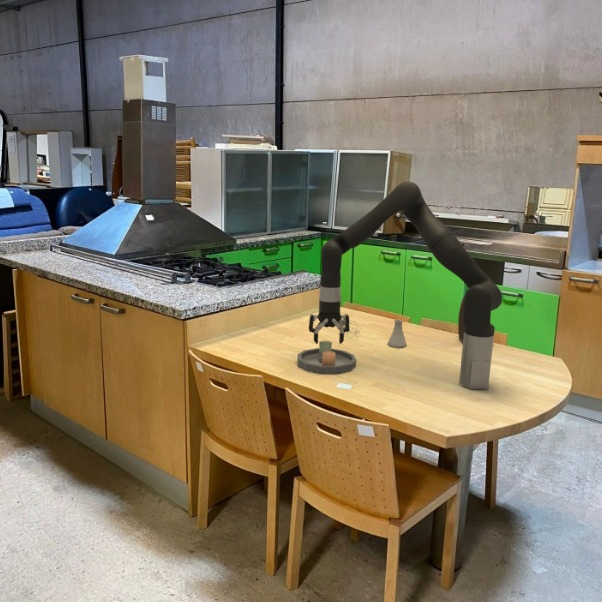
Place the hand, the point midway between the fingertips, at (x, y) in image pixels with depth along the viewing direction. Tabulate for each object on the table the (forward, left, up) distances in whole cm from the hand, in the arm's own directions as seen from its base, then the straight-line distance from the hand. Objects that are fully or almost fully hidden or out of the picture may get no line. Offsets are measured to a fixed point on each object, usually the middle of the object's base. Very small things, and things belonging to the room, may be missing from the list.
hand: (328, 343), depth 216 cm
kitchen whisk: (+40, -10, -6) cm, 42 cm away
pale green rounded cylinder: (0, +1, -5) cm, 5 cm away
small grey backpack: (+21, -60, -6) cm, 64 cm away
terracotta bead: (-11, +1, -5) cm, 12 cm away
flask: (+17, -29, -6) cm, 34 cm away
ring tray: (-5, +1, -6) cm, 8 cm away
